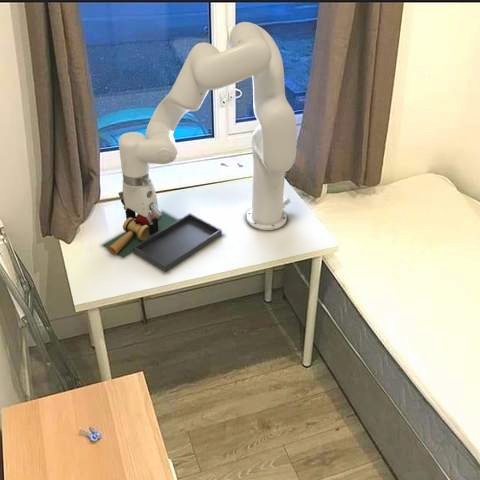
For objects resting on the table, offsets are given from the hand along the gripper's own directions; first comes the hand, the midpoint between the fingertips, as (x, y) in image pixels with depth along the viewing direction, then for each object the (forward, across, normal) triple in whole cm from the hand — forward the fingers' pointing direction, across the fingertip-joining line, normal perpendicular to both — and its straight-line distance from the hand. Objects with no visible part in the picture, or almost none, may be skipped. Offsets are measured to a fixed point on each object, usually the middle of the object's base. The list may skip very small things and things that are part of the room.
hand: (142, 226), depth 178 cm
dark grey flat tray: (+3, -11, -3) cm, 12 cm away
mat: (+3, 0, 0) cm, 3 cm away
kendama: (+3, 0, +4) cm, 5 cm away
